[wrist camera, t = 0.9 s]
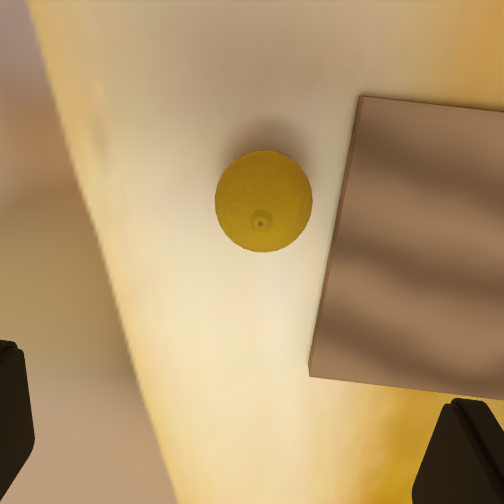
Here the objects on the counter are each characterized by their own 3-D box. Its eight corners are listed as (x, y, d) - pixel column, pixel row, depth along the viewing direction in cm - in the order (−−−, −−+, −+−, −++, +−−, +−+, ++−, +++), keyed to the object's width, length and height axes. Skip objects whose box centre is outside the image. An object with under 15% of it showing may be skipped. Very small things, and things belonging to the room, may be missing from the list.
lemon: (230, 133, 27) (212, 157, 20) (316, 149, 27) (330, 179, 20) (218, 215, 29) (198, 264, 22) (298, 229, 29) (304, 283, 22)
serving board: (359, 95, 26) (364, 97, 24) (627, 125, 25) (647, 129, 24) (308, 364, 34) (309, 376, 32) (511, 388, 33) (521, 402, 32)
